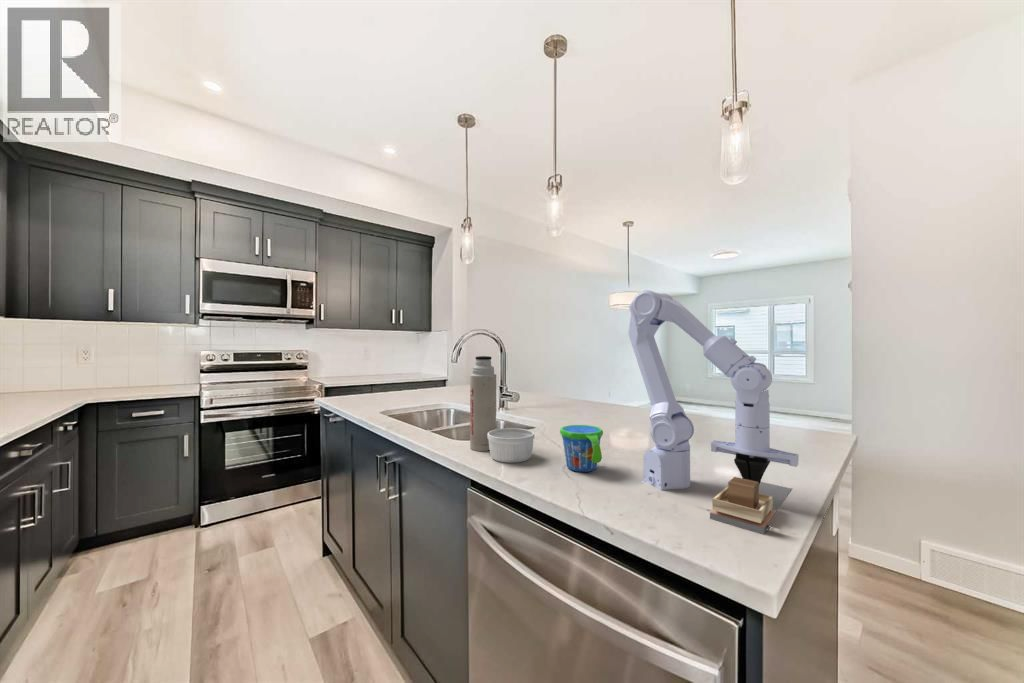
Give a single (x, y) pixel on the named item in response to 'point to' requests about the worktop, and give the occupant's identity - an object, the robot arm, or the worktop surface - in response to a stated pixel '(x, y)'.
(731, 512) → the shallow wooden tray
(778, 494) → the track
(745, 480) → the block
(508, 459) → the ramekin
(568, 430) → the snack cup
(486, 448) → the thermos bottle
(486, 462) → the worktop surface
